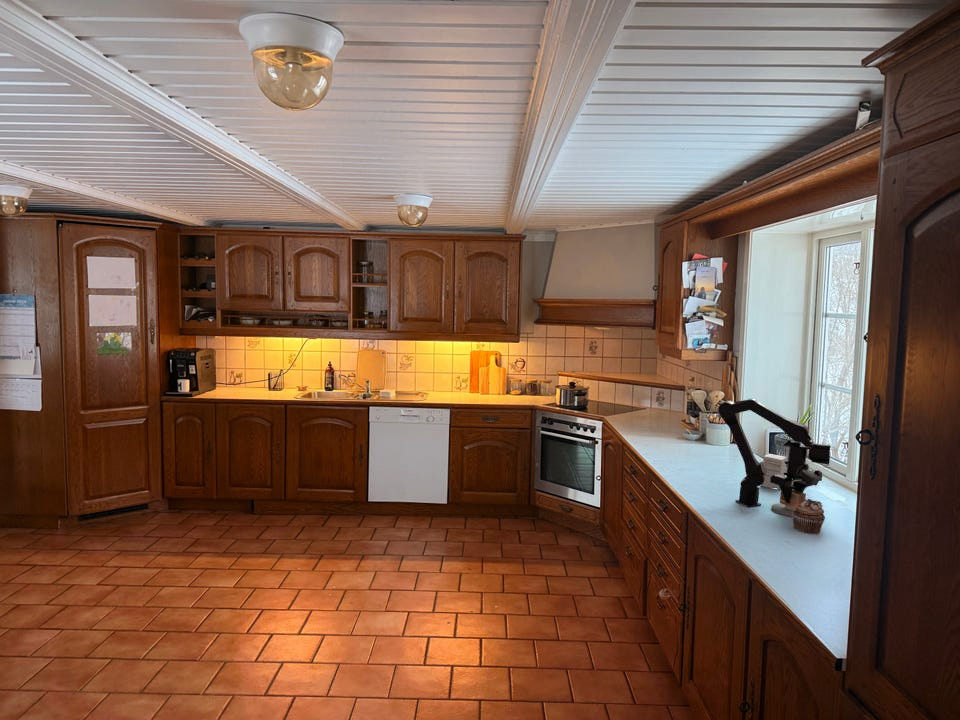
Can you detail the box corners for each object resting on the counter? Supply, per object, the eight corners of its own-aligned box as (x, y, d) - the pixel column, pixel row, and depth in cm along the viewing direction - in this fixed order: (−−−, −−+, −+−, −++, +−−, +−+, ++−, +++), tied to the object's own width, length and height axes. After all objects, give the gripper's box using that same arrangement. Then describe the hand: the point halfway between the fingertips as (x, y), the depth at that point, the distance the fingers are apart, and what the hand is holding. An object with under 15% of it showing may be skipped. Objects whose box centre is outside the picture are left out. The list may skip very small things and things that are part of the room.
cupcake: (794, 522, 224) (797, 494, 223) (826, 530, 217) (829, 501, 216) (787, 529, 216) (790, 499, 215) (819, 537, 210) (822, 507, 209)
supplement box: (765, 483, 273) (768, 453, 272) (784, 487, 269) (787, 456, 268) (759, 486, 268) (763, 455, 267) (779, 490, 263) (782, 459, 262)
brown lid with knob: (794, 519, 227) (796, 507, 226) (763, 508, 238) (764, 495, 238) (819, 516, 232) (820, 503, 232) (787, 504, 244) (789, 492, 244)
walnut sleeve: (779, 502, 237) (781, 489, 236) (787, 501, 239) (789, 488, 238) (796, 508, 231) (797, 495, 230) (804, 507, 233) (806, 494, 232)
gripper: (799, 467, 222) (794, 512, 224) (834, 463, 231) (829, 507, 232) (771, 459, 232) (766, 502, 233) (806, 456, 240) (801, 497, 242)
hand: (792, 502), depth 235 cm, fingers closed on walnut sleeve, 4 cm apart
